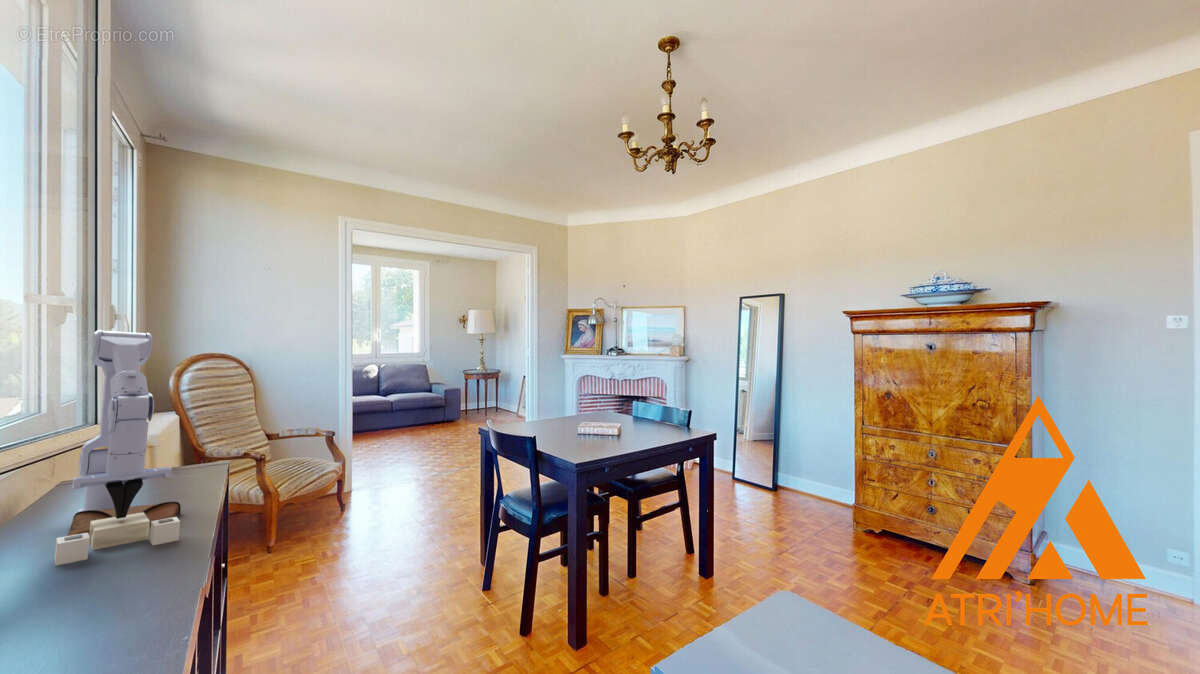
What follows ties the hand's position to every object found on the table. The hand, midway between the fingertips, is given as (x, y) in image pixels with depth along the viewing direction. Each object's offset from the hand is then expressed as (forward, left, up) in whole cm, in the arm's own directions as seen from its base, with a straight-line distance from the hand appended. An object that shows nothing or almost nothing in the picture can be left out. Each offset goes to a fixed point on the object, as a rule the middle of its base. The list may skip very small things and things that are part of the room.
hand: (120, 516), depth 98 cm
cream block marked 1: (+7, -7, -5) cm, 11 cm away
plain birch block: (0, 0, -5) cm, 5 cm away
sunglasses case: (-9, +2, -5) cm, 11 cm away
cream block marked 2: (+7, +6, -5) cm, 10 cm away
